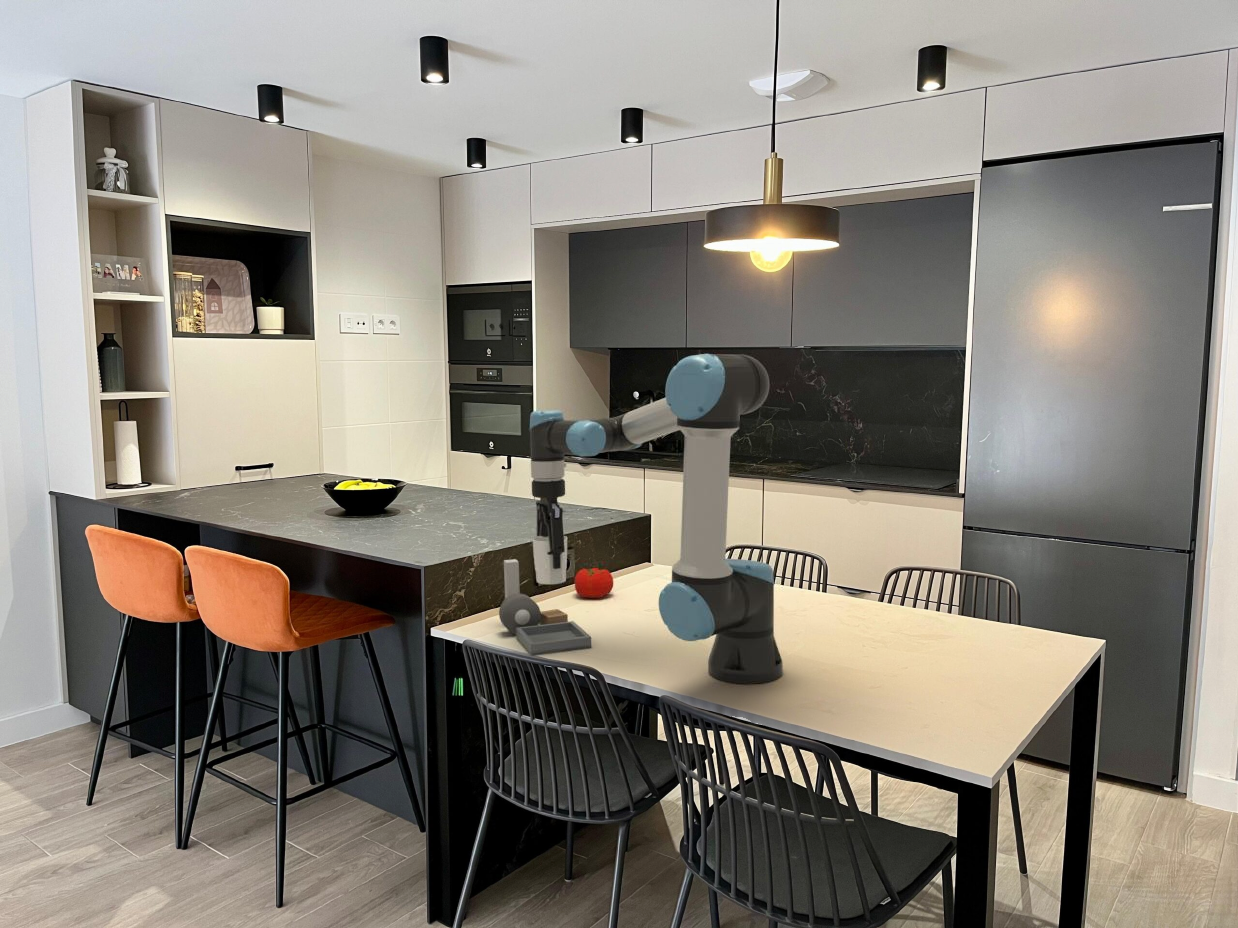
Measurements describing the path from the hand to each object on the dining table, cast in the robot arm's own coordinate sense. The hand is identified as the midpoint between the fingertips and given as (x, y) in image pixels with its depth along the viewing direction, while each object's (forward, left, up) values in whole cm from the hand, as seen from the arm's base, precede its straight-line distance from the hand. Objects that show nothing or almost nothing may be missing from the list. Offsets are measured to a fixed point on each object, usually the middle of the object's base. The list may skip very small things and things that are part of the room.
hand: (551, 578), depth 207 cm
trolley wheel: (+14, +5, -15) cm, 21 cm away
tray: (0, 0, -15) cm, 15 cm away
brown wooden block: (+11, -3, -15) cm, 19 cm away
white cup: (0, 0, -1) cm, 1 cm away
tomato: (+37, -22, -15) cm, 46 cm away
